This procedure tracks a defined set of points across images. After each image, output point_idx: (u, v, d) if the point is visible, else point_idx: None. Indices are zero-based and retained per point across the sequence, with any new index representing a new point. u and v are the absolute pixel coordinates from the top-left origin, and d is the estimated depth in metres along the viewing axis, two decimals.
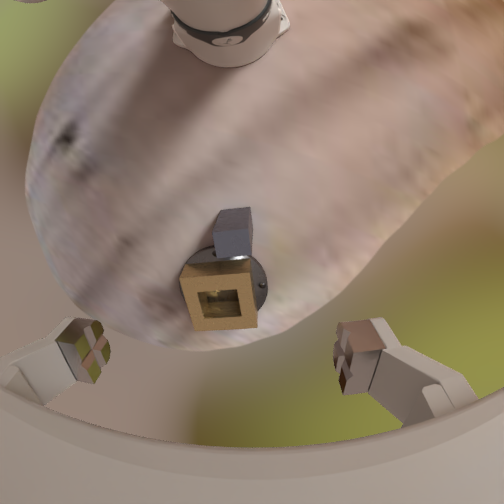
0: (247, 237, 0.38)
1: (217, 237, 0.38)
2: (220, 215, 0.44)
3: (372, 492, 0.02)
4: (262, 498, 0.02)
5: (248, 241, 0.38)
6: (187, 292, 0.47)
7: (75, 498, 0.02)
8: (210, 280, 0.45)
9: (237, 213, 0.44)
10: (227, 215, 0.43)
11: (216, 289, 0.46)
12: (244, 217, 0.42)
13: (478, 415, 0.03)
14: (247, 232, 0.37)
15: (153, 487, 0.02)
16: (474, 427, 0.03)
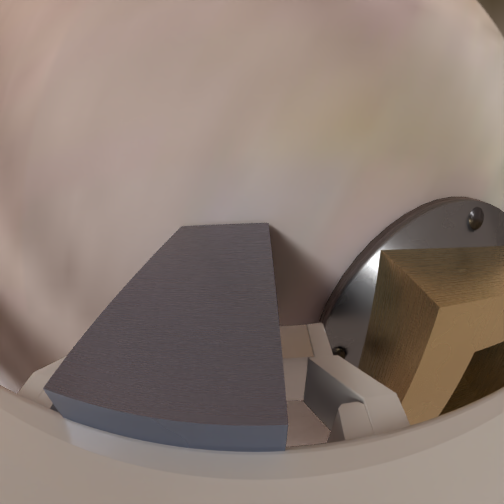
0: (104, 416, 0.03)
1: None
2: None
3: (372, 492, 0.02)
4: (262, 498, 0.02)
5: (137, 421, 0.03)
6: None
7: (75, 498, 0.02)
8: None
9: None
10: None
11: (440, 408, 0.09)
12: None
13: (478, 415, 0.03)
14: (68, 402, 0.03)
15: (153, 487, 0.02)
16: (474, 427, 0.03)
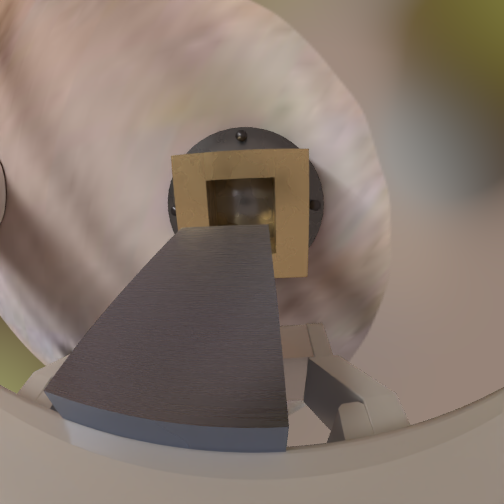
0: (105, 418, 0.03)
1: None
2: None
3: (372, 492, 0.02)
4: (262, 498, 0.02)
5: (138, 423, 0.03)
6: None
7: (75, 498, 0.02)
8: None
9: None
10: None
11: (205, 219, 0.25)
12: None
13: (478, 415, 0.03)
14: (68, 405, 0.03)
15: (153, 487, 0.02)
16: (474, 427, 0.03)
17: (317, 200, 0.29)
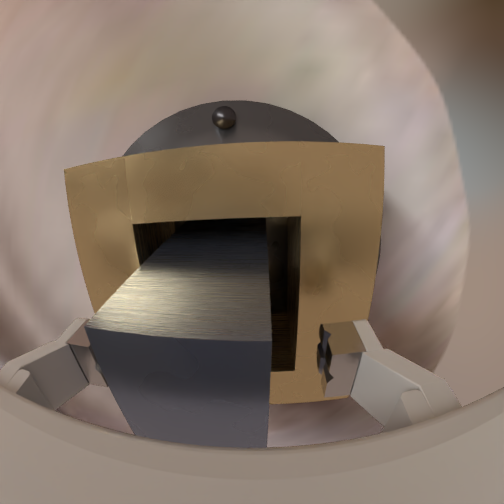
0: (135, 343, 0.05)
1: None
2: None
3: (372, 492, 0.02)
4: (262, 498, 0.02)
5: (162, 344, 0.05)
6: None
7: (75, 498, 0.02)
8: None
9: None
10: None
11: None
12: None
13: (478, 415, 0.03)
14: (105, 336, 0.05)
15: (153, 487, 0.02)
16: (474, 427, 0.03)
17: None
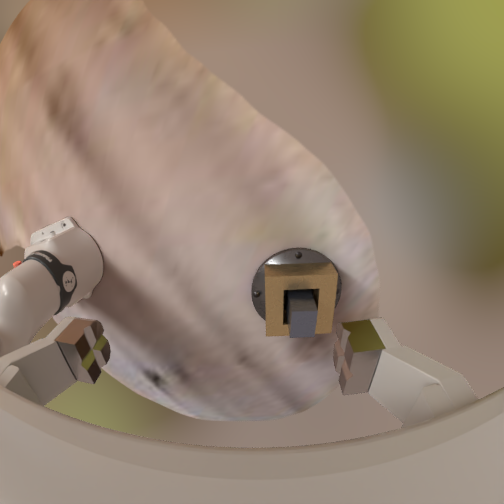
0: (300, 312, 0.40)
1: (295, 334, 0.42)
2: (286, 312, 0.49)
3: (372, 492, 0.02)
4: (262, 498, 0.02)
5: (304, 312, 0.40)
6: (282, 332, 0.48)
7: (75, 498, 0.02)
8: (271, 312, 0.46)
9: (287, 299, 0.48)
10: (286, 307, 0.48)
11: (281, 307, 0.46)
12: (288, 299, 0.45)
13: (478, 415, 0.03)
14: (295, 312, 0.40)
15: (153, 487, 0.02)
16: (474, 427, 0.03)
17: (338, 288, 0.50)
